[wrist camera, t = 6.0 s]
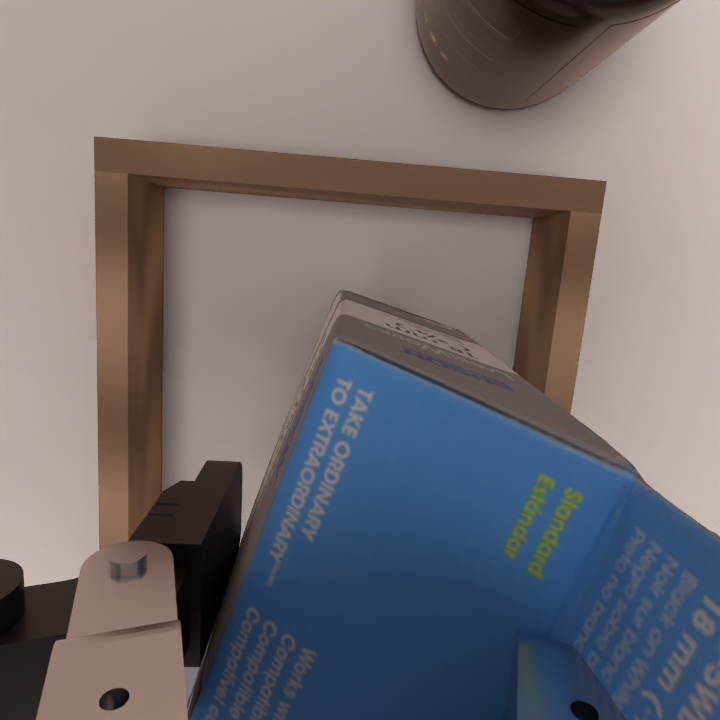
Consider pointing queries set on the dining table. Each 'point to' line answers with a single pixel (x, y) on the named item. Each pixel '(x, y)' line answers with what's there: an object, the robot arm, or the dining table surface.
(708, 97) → the dining table surface
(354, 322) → the blue product box
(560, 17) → the supplement bottle
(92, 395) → the dining table surface
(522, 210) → the bin
